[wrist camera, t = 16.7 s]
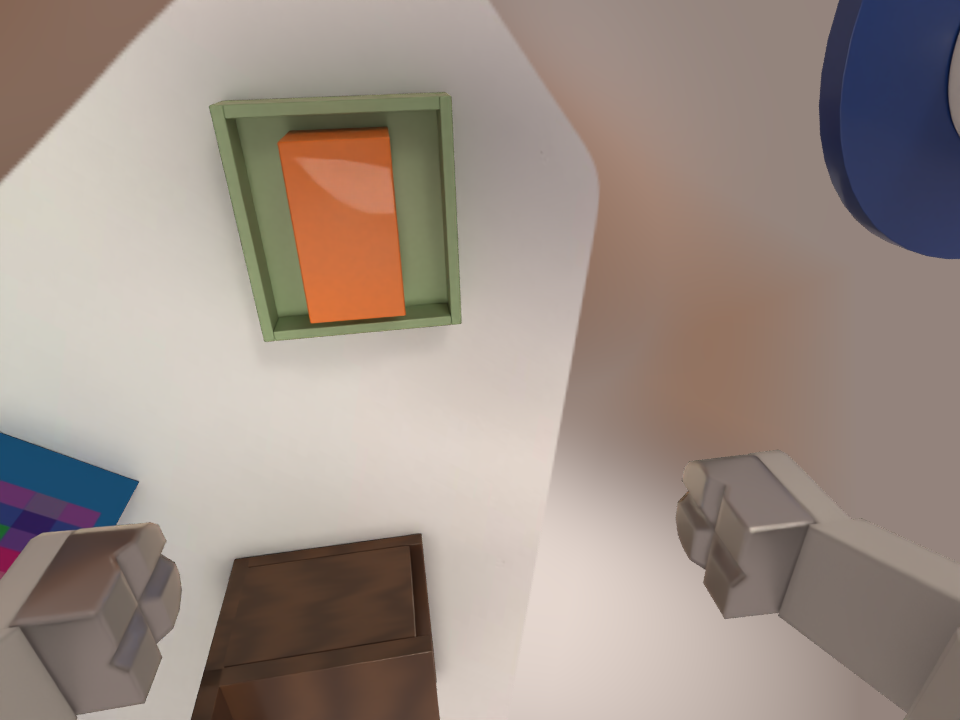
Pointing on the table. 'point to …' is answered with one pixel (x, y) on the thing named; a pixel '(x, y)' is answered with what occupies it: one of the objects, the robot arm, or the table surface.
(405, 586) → the shelf
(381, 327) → the tray
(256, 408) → the table surface
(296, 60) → the table surface
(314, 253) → the block
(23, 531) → the box
